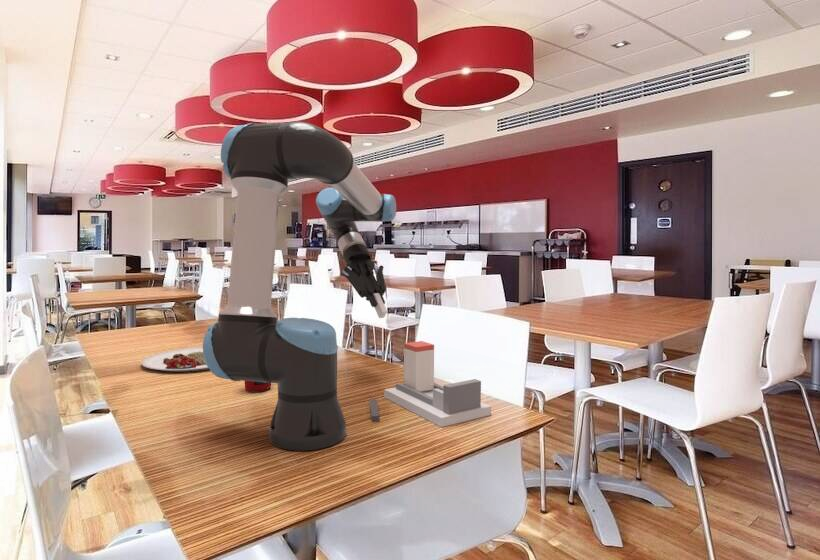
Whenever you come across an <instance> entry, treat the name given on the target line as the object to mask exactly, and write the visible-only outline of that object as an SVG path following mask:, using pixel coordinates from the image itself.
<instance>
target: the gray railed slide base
mask: <svg viewBox="0 0 820 560" xmlns="http://www.w3.org/2000/svg"><path fill="white" fill-rule="evenodd" d="M481 396H482V380H479V379H477V378H476V379H475V378H474V379H469V380H463V381H457V382H453V383H448V384H443V386H442V385H441V384H438V383H436V382H434V389H432V390H427V391H422V392H420V391H418V390H415V389H413V388H411V387H409V386H407V385H404V383H402V382H396V383H395V387H391V388H390V387H389V388H386V389H384V398H385V399H388V400H389V401H390V402H393V403H395V404H397V405H399V406H400V407H402V408H404V409H406V410H408V411H410V412H412V413H413V414H416V415H417V416H419V417H422V418H423V419H425V420H427V421H428V422H431V423H433V424H434V425H436V426H439V427H440V428H443V427H448V426H451V425H456V424H460V423H465V422H467V421H468V422H469V421H472V420H476V419H481V418H485V417H489V416H491V415H492V406H491V405H489V404H486V403H484V402H482V401H481V400H482V399H481V398H482V397H481Z"/></svg>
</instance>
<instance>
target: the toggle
mask: <svg viewBox="0 0 820 560" xmlns="http://www.w3.org/2000/svg"><path fill="white" fill-rule="evenodd" d="M434 383H435V344H433V343H430V342H426V341H423V340H421V341H420V340H419V341H418V340H417V341H411V342H404V343H403V384H404V385H407V386H409V387H411V388H413V389H415V390H418V391H420V392H422V391H427V390H432V389H434Z"/></svg>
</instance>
